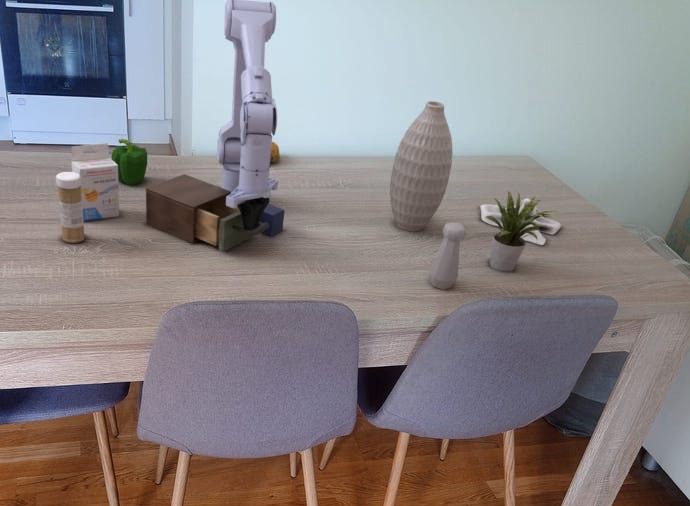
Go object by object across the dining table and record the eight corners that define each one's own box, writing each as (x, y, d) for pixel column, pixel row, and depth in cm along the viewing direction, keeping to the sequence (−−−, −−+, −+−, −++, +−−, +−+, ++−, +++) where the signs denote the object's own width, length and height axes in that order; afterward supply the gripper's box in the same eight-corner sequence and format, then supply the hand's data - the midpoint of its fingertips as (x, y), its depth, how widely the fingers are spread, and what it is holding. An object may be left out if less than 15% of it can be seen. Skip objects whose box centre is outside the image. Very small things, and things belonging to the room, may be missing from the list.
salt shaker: (423, 276, 146) (437, 217, 138) (450, 277, 146) (465, 219, 139) (430, 290, 141) (445, 230, 134) (458, 291, 142) (474, 232, 134)
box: (256, 230, 156) (258, 209, 153) (267, 225, 159) (269, 204, 156) (271, 236, 154) (273, 215, 151) (282, 230, 157) (284, 209, 154)
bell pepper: (155, 181, 173) (155, 141, 167) (132, 190, 167) (131, 148, 161) (129, 172, 176) (128, 132, 171) (106, 180, 170) (104, 139, 165)
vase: (442, 223, 169) (471, 103, 153) (428, 242, 160) (457, 116, 143) (392, 210, 173) (415, 91, 157) (375, 228, 163) (398, 103, 147)
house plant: (523, 291, 145) (548, 217, 135) (460, 269, 150) (480, 196, 141) (542, 267, 155) (566, 197, 146) (482, 247, 160) (502, 178, 151)
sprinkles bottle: (82, 232, 146) (77, 170, 139) (87, 242, 143) (83, 178, 136) (59, 235, 145) (53, 171, 137) (64, 245, 141) (58, 180, 134)
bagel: (239, 162, 189) (240, 144, 186) (248, 149, 198) (249, 132, 195) (275, 168, 188) (277, 150, 185) (282, 155, 197) (284, 138, 194)
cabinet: (229, 226, 156) (231, 191, 151) (192, 243, 147) (193, 207, 143) (183, 208, 162) (184, 174, 157) (146, 224, 153) (145, 188, 148)
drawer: (274, 242, 150) (277, 213, 146) (242, 259, 142) (245, 229, 138) (210, 217, 157) (212, 189, 153) (177, 232, 149) (177, 202, 146)
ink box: (82, 222, 151) (77, 154, 142) (74, 213, 154) (69, 146, 145) (120, 216, 155) (118, 150, 146) (111, 207, 158) (108, 142, 150)
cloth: (464, 209, 178) (470, 186, 175) (521, 203, 186) (528, 181, 182) (522, 248, 162) (530, 223, 159) (582, 240, 170) (591, 216, 166)
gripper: (248, 181, 130) (243, 248, 138) (292, 163, 141) (285, 226, 148) (218, 170, 133) (215, 236, 141) (264, 154, 144) (259, 216, 151)
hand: (249, 230), depth 145 cm, fingers closed, pressing on drawer
